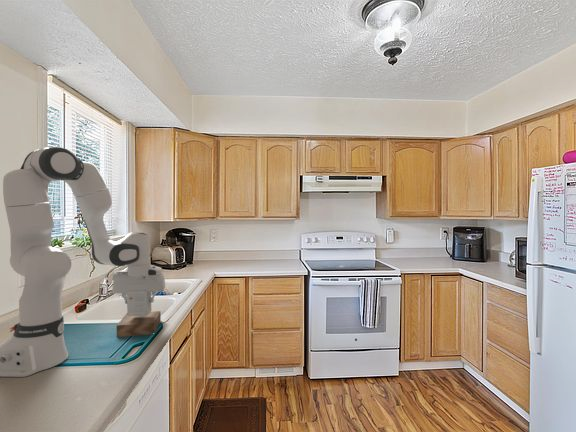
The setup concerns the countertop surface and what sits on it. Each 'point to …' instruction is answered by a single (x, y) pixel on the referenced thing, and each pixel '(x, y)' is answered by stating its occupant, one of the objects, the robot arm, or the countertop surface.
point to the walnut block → (139, 324)
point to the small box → (138, 303)
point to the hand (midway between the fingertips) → (139, 302)
